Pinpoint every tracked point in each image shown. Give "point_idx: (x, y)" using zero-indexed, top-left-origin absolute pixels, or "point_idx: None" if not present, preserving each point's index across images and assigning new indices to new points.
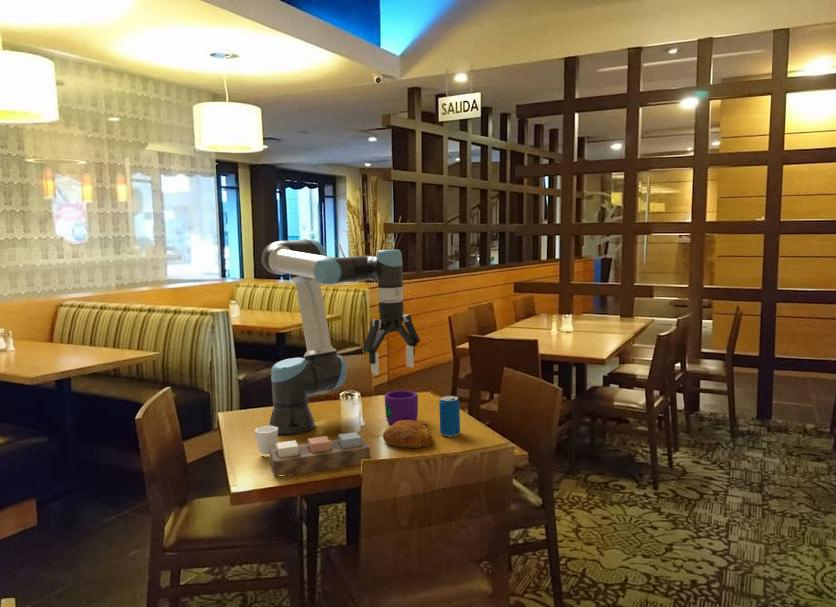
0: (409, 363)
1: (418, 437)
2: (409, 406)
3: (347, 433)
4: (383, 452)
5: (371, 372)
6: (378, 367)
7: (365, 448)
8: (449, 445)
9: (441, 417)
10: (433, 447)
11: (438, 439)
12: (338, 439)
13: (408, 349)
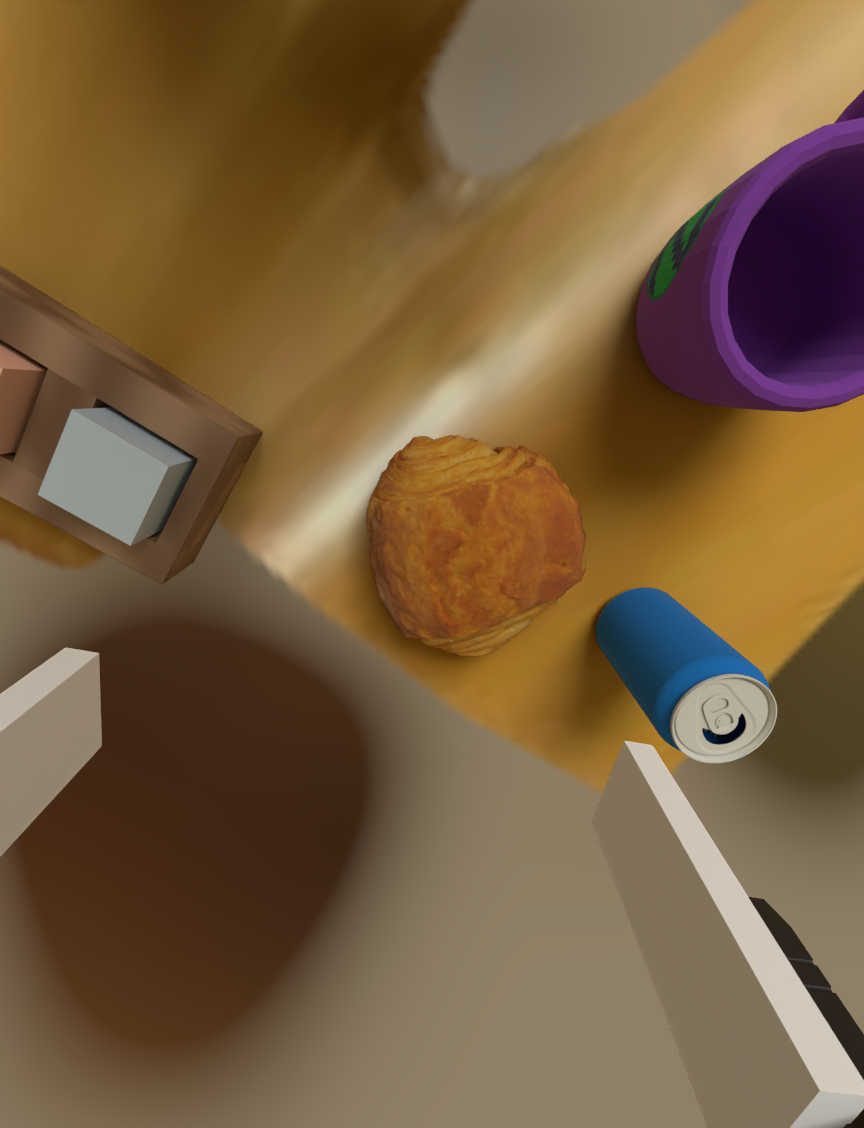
0: (619, 823)
1: (422, 641)
2: (725, 401)
3: (118, 441)
4: (308, 529)
5: (54, 656)
6: (31, 816)
7: (144, 573)
8: (516, 687)
9: (628, 650)
10: None
11: (556, 618)
12: (124, 372)
13: (731, 1046)
